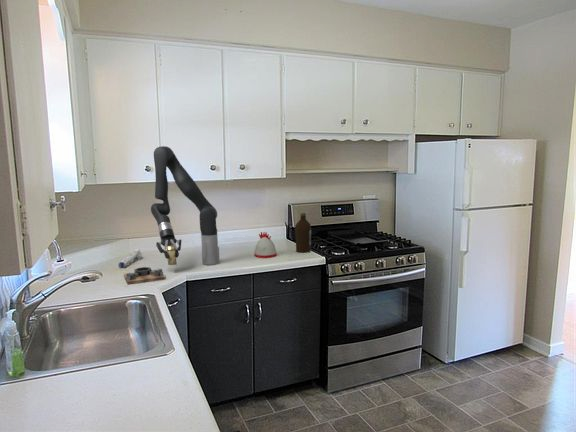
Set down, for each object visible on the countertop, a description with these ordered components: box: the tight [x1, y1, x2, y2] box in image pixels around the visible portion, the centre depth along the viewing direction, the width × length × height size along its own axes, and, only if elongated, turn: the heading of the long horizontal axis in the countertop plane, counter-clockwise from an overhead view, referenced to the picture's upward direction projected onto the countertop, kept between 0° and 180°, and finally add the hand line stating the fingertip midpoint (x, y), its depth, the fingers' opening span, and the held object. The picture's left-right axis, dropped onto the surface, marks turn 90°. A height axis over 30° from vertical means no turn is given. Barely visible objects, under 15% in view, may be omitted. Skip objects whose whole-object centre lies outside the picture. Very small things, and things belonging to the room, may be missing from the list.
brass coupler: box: [167, 245, 178, 266], centre depth 222 cm, size 5×5×10 cm
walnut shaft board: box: [123, 269, 166, 286], centre depth 213 cm, size 18×16×2 cm
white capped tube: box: [117, 248, 143, 269], centre depth 246 cm, size 5×7×25 cm
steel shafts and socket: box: [126, 266, 164, 280], centre depth 213 cm, size 18×13×3 cm
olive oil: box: [294, 212, 312, 254], centre depth 268 cm, size 11×11×25 cm
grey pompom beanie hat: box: [253, 231, 277, 259], centre depth 259 cm, size 14×14×15 cm
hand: (172, 257), depth 221 cm, fingers closed on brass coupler, 4 cm apart
